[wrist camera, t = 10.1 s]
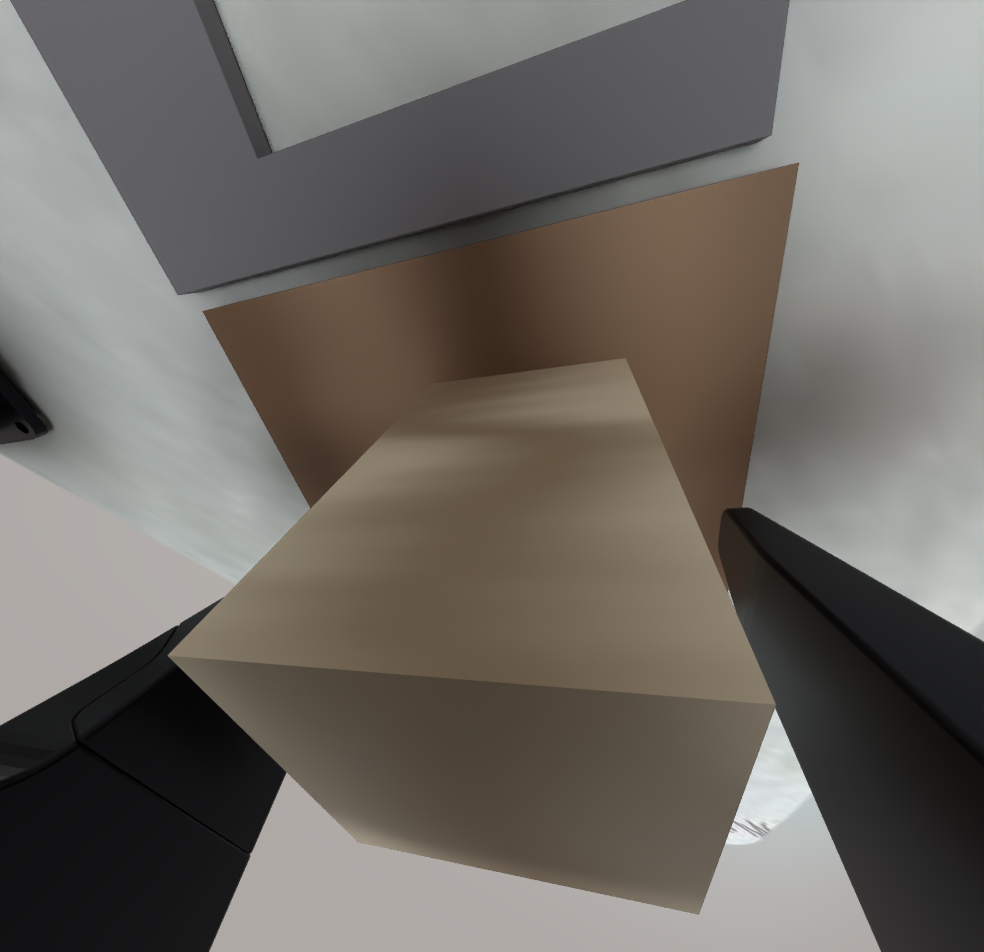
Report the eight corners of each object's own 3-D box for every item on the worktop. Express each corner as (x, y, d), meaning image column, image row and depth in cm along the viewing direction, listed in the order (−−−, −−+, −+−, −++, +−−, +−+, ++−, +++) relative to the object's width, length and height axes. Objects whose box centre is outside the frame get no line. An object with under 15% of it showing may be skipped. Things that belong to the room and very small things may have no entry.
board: (369, 593, 17) (363, 604, 16) (219, 307, 11) (202, 311, 10) (718, 596, 13) (724, 610, 13) (783, 167, 7) (799, 162, 7)
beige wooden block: (470, 526, 13) (358, 842, 6) (432, 383, 10) (167, 655, 4) (626, 521, 11) (699, 915, 5) (625, 357, 9) (776, 704, 2)
